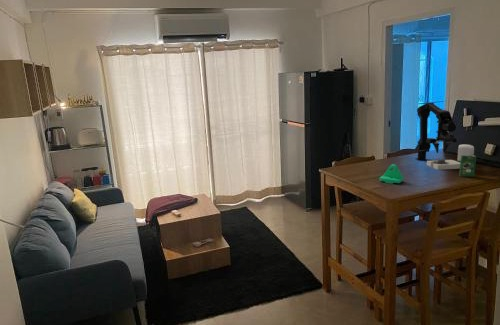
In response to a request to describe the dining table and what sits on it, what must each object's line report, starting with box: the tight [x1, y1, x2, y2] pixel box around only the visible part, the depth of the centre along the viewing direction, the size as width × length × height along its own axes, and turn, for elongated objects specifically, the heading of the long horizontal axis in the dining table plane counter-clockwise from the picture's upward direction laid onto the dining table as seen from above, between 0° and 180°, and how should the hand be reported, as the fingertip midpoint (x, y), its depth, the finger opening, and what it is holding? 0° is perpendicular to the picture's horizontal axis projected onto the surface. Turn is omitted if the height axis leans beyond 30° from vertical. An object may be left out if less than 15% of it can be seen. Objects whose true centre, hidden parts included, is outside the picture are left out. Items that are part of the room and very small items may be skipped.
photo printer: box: [457, 143, 475, 162], centre depth 267 cm, size 10×4×12 cm, turn 39°
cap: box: [434, 158, 446, 164], centre depth 255 cm, size 6×6×5 cm
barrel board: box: [426, 159, 461, 171], centre depth 255 cm, size 14×18×3 cm
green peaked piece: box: [379, 164, 404, 185], centre depth 224 cm, size 12×8×10 cm, turn 51°
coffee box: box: [458, 155, 477, 178], centre depth 229 cm, size 8×3×13 cm, turn 77°
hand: (440, 152), depth 253 cm, fingers open, 4 cm apart
